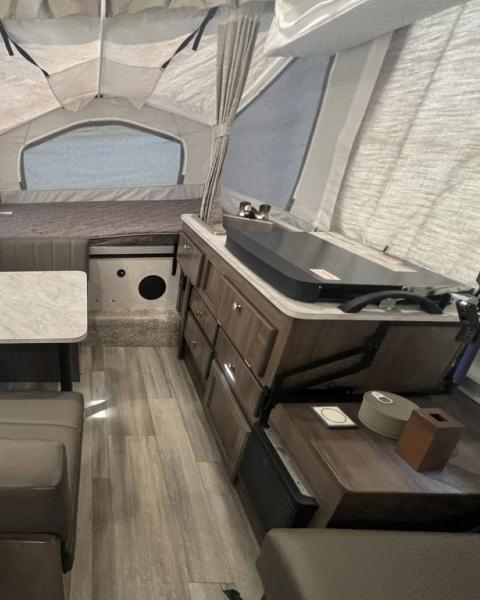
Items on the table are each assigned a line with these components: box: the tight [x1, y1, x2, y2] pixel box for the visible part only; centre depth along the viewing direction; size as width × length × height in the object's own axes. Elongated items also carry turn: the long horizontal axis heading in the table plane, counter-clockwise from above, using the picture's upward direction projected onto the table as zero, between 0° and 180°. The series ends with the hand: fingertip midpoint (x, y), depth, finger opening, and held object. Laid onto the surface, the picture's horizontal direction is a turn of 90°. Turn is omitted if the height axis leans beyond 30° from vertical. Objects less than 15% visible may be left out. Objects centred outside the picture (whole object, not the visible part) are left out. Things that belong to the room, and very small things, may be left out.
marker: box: [452, 344, 480, 385], centre depth 65 cm, size 2×2×15 cm
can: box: [357, 390, 421, 441], centre depth 87 cm, size 12×12×7 cm
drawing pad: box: [309, 405, 359, 429], centre depth 91 cm, size 8×8×1 cm
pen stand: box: [393, 407, 467, 473], centre depth 75 cm, size 6×6×14 cm
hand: (476, 343), depth 64 cm, fingers closed on marker, 1 cm apart
